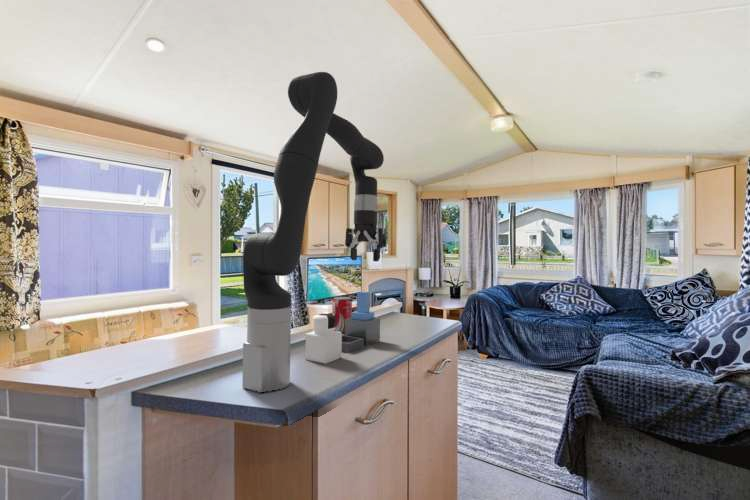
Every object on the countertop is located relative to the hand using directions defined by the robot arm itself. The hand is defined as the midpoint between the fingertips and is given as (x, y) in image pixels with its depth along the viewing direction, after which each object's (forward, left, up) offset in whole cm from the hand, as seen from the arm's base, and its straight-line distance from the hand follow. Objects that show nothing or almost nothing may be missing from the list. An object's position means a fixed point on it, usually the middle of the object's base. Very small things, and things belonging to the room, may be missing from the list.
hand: (364, 260), depth 124 cm
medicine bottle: (-21, -2, -26) cm, 34 cm away
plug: (0, 0, -20) cm, 20 cm away
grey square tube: (0, 0, -26) cm, 26 cm away
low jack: (-9, 0, -26) cm, 28 cm away
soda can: (+9, +15, -26) cm, 32 cm away
